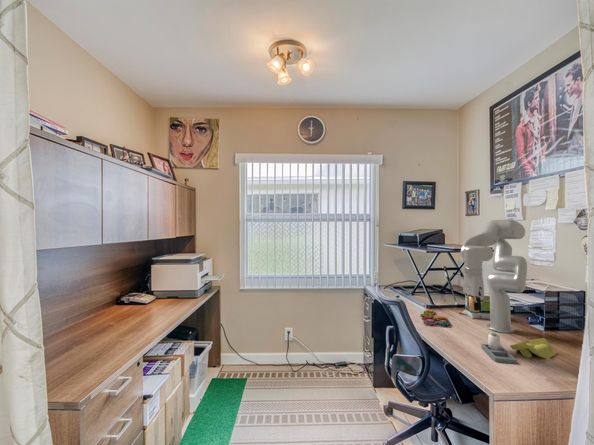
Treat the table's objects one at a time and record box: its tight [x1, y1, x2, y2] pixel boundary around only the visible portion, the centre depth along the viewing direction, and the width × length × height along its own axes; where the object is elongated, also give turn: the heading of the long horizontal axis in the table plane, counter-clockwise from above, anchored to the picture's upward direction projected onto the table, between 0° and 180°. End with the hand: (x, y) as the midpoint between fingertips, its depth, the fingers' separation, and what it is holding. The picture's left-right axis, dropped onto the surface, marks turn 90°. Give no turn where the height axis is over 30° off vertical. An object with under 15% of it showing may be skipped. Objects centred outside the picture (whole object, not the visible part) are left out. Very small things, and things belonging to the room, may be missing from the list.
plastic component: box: [509, 337, 556, 359], centre depth 131 cm, size 20×7×10 cm
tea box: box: [464, 292, 490, 320], centre depth 188 cm, size 15×10×15 cm, turn 83°
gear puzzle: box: [420, 309, 454, 328], centre depth 185 cm, size 31×16×4 cm, turn 164°
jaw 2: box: [487, 332, 501, 351], centre depth 134 cm, size 4×4×8 cm
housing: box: [480, 343, 518, 364], centre depth 130 cm, size 16×9×2 cm, turn 166°
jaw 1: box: [469, 295, 479, 312], centre depth 144 cm, size 4×4×8 cm
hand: (474, 308), depth 144 cm, fingers closed on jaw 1, 4 cm apart
